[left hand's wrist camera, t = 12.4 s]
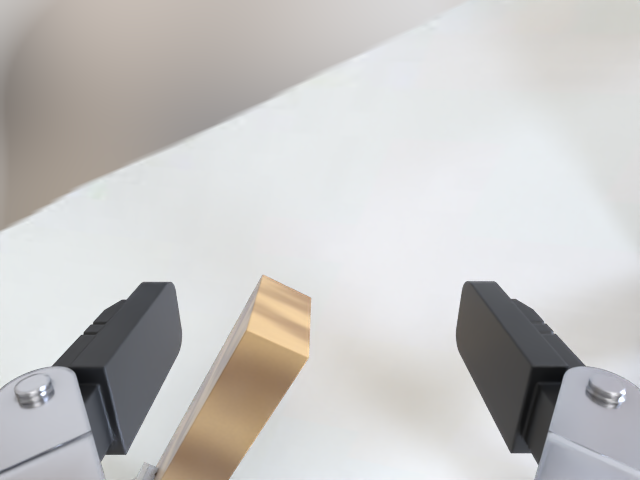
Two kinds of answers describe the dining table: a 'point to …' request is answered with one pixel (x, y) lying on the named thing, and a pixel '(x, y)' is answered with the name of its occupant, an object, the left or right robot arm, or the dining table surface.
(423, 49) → the dining table surface
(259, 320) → the bar
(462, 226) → the dining table surface
